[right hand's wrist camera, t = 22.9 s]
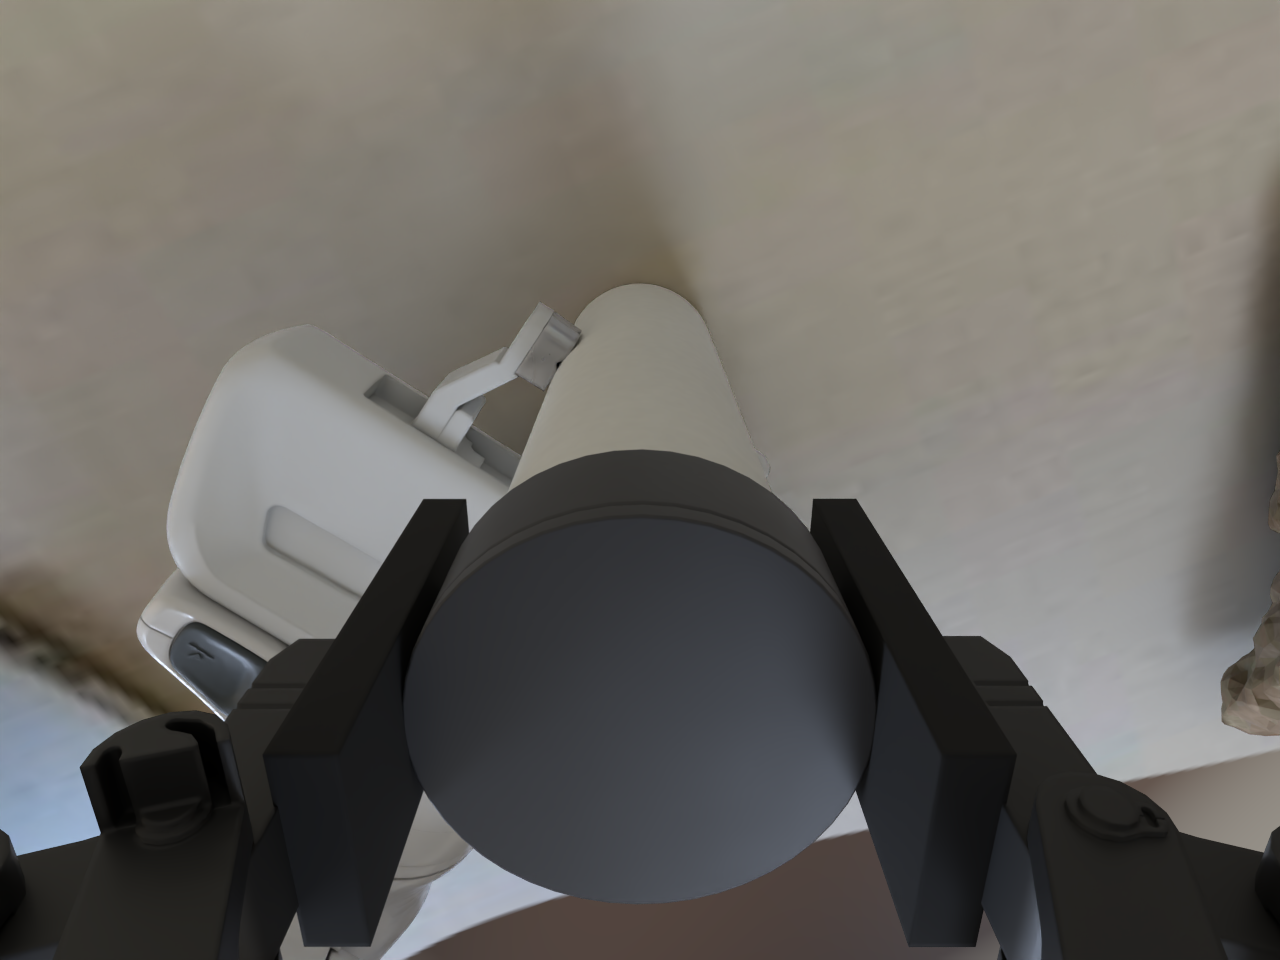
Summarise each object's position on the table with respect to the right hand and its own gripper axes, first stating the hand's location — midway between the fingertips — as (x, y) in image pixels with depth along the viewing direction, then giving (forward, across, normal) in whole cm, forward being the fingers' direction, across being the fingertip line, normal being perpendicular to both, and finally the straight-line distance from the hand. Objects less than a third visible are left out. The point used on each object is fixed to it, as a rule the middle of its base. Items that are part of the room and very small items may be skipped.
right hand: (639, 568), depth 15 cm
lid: (-4, 0, 0) cm, 4 cm away
